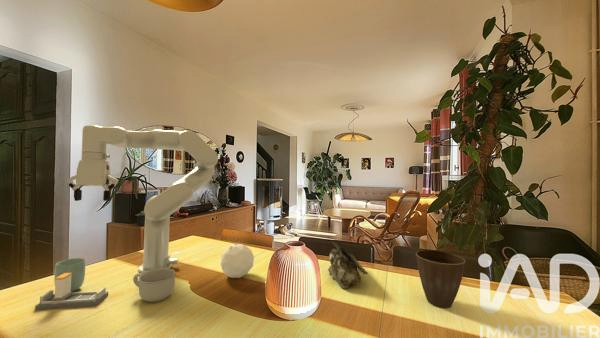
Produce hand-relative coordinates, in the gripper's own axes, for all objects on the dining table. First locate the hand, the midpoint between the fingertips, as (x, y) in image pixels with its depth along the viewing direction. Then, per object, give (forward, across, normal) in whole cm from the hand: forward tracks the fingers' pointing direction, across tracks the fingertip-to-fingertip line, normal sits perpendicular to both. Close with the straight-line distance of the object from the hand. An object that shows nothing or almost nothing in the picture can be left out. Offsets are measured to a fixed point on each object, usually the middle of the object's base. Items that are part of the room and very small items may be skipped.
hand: (92, 200), depth 100 cm
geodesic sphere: (+31, -56, +8) cm, 65 cm away
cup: (+30, 0, +12) cm, 32 cm away
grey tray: (+30, -6, +21) cm, 37 cm away
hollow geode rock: (+31, -101, +15) cm, 107 cm away
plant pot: (+31, -125, +41) cm, 135 cm away
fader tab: (+28, -3, +21) cm, 35 cm away
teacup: (+30, -29, +21) cm, 47 cm away
